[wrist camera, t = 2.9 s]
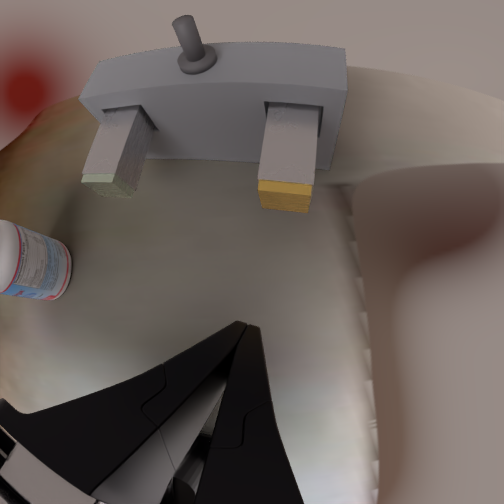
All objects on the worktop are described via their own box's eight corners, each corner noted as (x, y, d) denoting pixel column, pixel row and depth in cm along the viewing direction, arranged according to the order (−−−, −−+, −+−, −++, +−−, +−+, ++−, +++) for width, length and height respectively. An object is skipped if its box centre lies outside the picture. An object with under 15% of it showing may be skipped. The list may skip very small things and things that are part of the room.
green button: (133, 198, 20) (112, 181, 17) (101, 196, 20) (79, 181, 17) (161, 111, 21) (147, 88, 18) (130, 114, 22) (114, 93, 19)
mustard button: (309, 213, 18) (312, 195, 15) (260, 208, 18) (255, 189, 16) (316, 115, 19) (319, 88, 16) (275, 111, 20) (272, 84, 17)
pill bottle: (30, 289, 25) (-52, 272, 14) (46, 235, 26) (-33, 202, 15) (64, 310, 24) (-28, 300, 13) (81, 250, 25) (-7, 216, 14)
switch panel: (329, 170, 24) (357, 43, 10) (134, 159, 26) (51, 71, 13) (330, 131, 24) (350, 5, 11) (146, 125, 27) (78, 32, 14)
